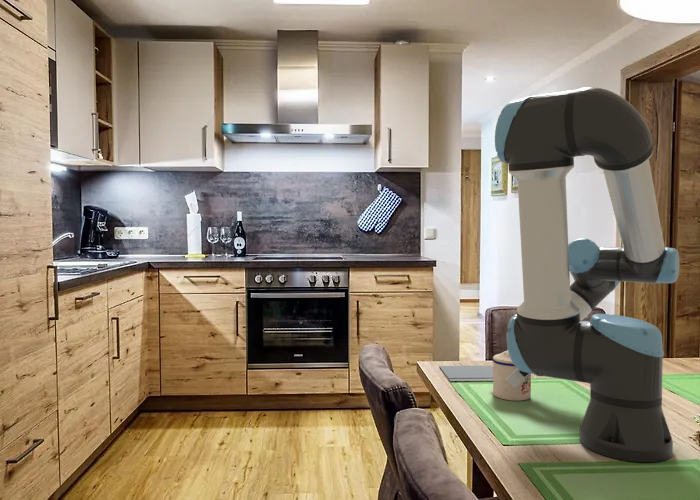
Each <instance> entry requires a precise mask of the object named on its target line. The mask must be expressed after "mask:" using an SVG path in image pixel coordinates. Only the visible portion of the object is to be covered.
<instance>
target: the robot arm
mask: <svg viewBox="0 0 700 500" xmlns="http://www.w3.org/2000/svg"><path fill="white" fill-rule="evenodd" d="M494 149H495V152H496V153H497V154H496V156H497V158H498V159H499V160H500V162H501V163H503V164H504V163H505V164H508V166H507V167H508V174H510V175H511V176H512V177H513V178H514V179H515V180H516V181H517V194H518V196H517V198H518V212H519V213H518V215H519V231H520V234H519V235H520V251H521V266H522V267H521V273H522V286H523V287H522V288H523V289H522V290H523V302H522V303H520V304H519V306H518V307H517V308H516V314H513V316H512V317H510V319H509V321H508V323H507V332H506V347H507V350H506V351H508V352H509V356H510V358H511V360H512V362H513V364H514V365H515V366H516V367H517V368H516V369H515V370H514V371H513V372H512V373H511V374H510V375H509V376H508V377H507V378H506V380H507V381H508V382H509V383H510V384H511V385H512V386H513V387H514V388H515V387H516V386H517V385H518V384H519V383H520V382H521V381H522V380H523V379H524V378H525V377H526V376H527V375H528V374H529V373H531V375H535V376H537V377H545V378H546V377H547V378H554V379H558V380H559V379H560V380H561V379H562V380H564V381H565V380H567V381H572V382H573V381H574V382H580V383H586V384H589V387H590V396H589V402H588V405H587V407H586V409H585V410H586V411H585V412H584V415H583V417H582V420H581V424H580V427H579V441H580V443H581V444H582V445H583V446H584V447H585V448H587V449H589V450H590V451H593V452H594V453H596V454H599V455H602V456H606V457H609V458H612V459H616V460H622V461H627V462H628V461H629V462H635V463H636V462H639V463H656V462H657V463H658V462H663V461H666V460H669V459H670V458H671V457H672V456H673V454H674V453H673V452H674V449H673V448H674V445H673V444H674V442H673V438H672V434H671V432H670V429H669V426H668V423H667V420H666V418H665V417H666V416H665V414H664V411H663V364H664V363H663V361H664V359H663V358H664V356H665V351H664V350H663V348H664V346H663V334H662V332H661V330H660V329H659V328H658V327H657V326H656V325H654V324H652V323H650V322H647V321H645V320H642V319H638V318H634V317H631V316H625V315H624V316H623V315H618V314H608V313H594V314H593V315H591V318H590V319H589V320H584V319H587V318H588V317H589V314H590V313H591V312H592V311H594V309H595V308H596V307H597V306H598V305H599V304H601V302H602V301H603V300H604V299H605V298H606V297H608V295H609V294H610V293H612V292H614V291H615V289H616V288H617V286H618V285H619V284H620V283H621V282H625V283H627V282H628V283H640V284H641V283H642V284H654V285H656V284H674V283H675V282H677V280H678V278H679V275H680V253H679V251H678V250H677V249H676V248H673V247H668V246H665V241H664V235H663V232H662V226H661V221H660V220H661V219H660V215H659V209H658V202H657V196H656V192H655V191H656V190H655V185H654V180H653V175H652V170H651V163H650V158H651V157H652V156H653V153H654V143H653V137H652V133H651V130H650V128H649V126H648V124H647V122H646V120H645V118H644V117H643V116H642V115H641V114H640V112H639V111H638V110H637V108H635V106H633V105H632V104H631V102H629V101H628V100H627V99H625V98H624V97H622V96H620V94H617V93H615V92H613V91H611V90H608V89H605V88H602V87H594V86H593V87H591V86H590V87H579V88H578V89H573V90H572V89H571V90H566V91H561V92H560V91H559V92H552V93H545V94H538V95H537V94H536V95H532V96H531V95H530V96H526V97H522V98H519V99H515V100H512V101H510V102H508V103H506V104H505V106H504V107H503V108H502V109H501V112H500V114H499V115H498V118H497V121H496V125H495V130H494ZM583 156H591V157H593V161H594V163H595V165H596V166H597V167H598V169H600V170H603V174H604V179H605V182H606V185H607V186H606V187H607V190H608V194H609V198H610V202H611V206H612V209H613V210H612V211H613V213H614V217H615V223H616V226H617V229H618V233H619V237H620V242H621V245H622V247H621V246H620V247H618V246H617V247H616V246H615V247H614V246H613V247H612V246H610V247H609V246H598V244H597V243H595V241H593V240H591V239H589V238H578V239H575V240H572V241H571V242H569V233H568V232H569V228H568V205H567V203H568V202H567V200H568V199H567V181H566V180H567V178H566V177H567V175H568V174H569V173H570V172H571V170H572V169H573V168H574V167H575V160H574V159H575V157H583ZM570 274H571V277H572V279H573V280H574V282H572V283H571V278H570ZM490 366H491V367H492V368H493V364H492V365H490Z"/></svg>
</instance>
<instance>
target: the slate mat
mask: <svg viewBox="0 0 700 500" xmlns="http://www.w3.org/2000/svg"><path fill="white" fill-rule="evenodd" d="M491 366H492V365H439V366H438V367H439V369H440V368H441V369H440V370H441V372H442V373H443V374H444V375H445V377H446V378H447V379H448V380H449V379H492V378H493V368H492V367H491Z"/></svg>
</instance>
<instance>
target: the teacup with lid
mask: <svg viewBox="0 0 700 500" xmlns="http://www.w3.org/2000/svg"><path fill="white" fill-rule="evenodd" d="M491 360H492V363H493V364H492V365H493V382H492V384H493V385H492V394H493V395H494V396H495V397H497V398H498V399H501V400H504V401H513V402H514V401H515V402H516V401H517V402H518V401H519V402H521V401H526V400H529V399H530V398H531V396H532V391H531V389H532V387H531V386H532V385H531V384H532V383H531V382H532V374H531V373H529V374H528V375H527V376H526V377H525V378H524V379H523V380H522V381H521V382H520V383H519V384H518V385H517V386H516V387H515V388H514V387H513V386H512V385H511V384H510V383H509V382H508V381H507V380H506V378H507V377H508V376H509V375H510V374H511V373H512V372H513V371H514V370H515V369H516V368H517V367H516V366H515V365H514V364H513V362H512V360H511V358H510V356H509V352H508V351H507V350H505V351H503V352H501V353H497V354H495V355H493V357H492V359H491Z"/></svg>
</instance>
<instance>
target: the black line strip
mask: <svg viewBox="0 0 700 500" xmlns="http://www.w3.org/2000/svg"><path fill="white" fill-rule="evenodd" d="M448 381H449V382H450V383H456V382H455V381H458V382H457V383H464V382H463V381H467V382H466V383H473V382H474V381H475V382H476V381H493V378H492V379H448ZM459 381H460V382H459ZM468 381H470V382H468ZM475 382H474V383H475ZM476 383H477V382H476Z"/></svg>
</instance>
